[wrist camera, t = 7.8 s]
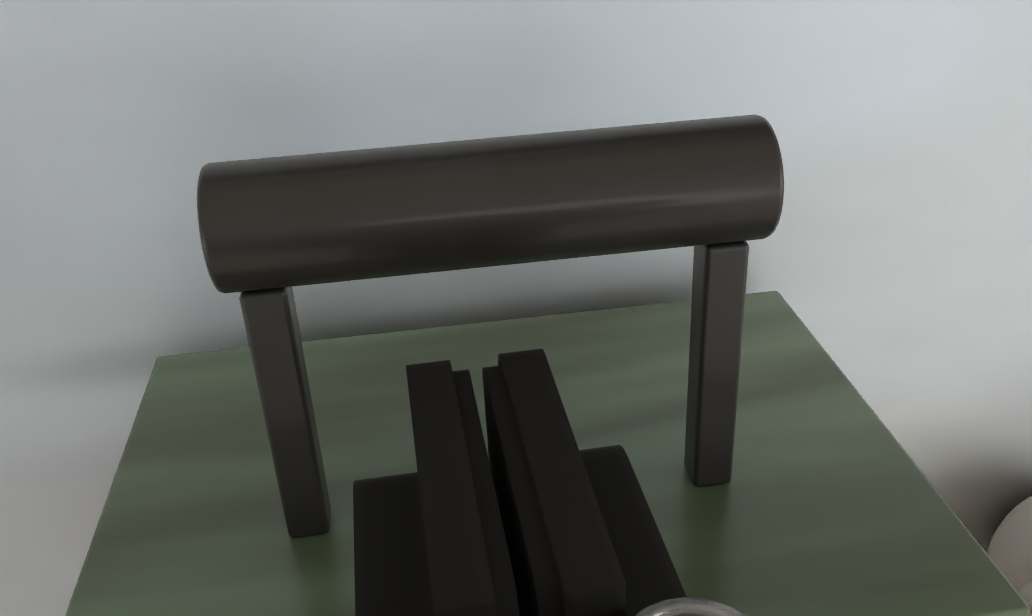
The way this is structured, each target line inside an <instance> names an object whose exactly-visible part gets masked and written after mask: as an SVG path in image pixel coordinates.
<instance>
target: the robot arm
mask: <svg viewBox="0 0 1032 616" xmlns="http://www.w3.org/2000/svg"><path fill="white" fill-rule="evenodd" d="M406 373H407V382H408V391H409V400H410V409H411V418H412V427H413V436H414V445H415V454H416V463H417V472H414V473H407V474H399V475H392V476H384V477H377V478H370V479H362V480H355V481H354V482H353V522H354V576H355V616H745V615H743V614H742V613H740V612H739V611H737V610H735V609H734V608H732V607H730V606H727V605H724V604H721V603H718V602H715V601H712V600H709V599H700V598H689V597H687V596H686V594H685V591H684V589H683V587H682V584H681V582H680V579H679V577H678V575H677V572H676V570H675V567H674V565H673V563H672V560H671V558H670V556H669V553H668V551H667V548H666V546H665V544H664V541H663V539H662V536H661V534H660V532H659V529H658V527H657V525H656V522H655V520H654V517H653V515H652V513H651V510H650V508H649V506H648V503H647V501H646V498H645V496H644V494H643V491H642V489H641V486H640V484H639V482H638V479H637V477H636V475H635V472H634V470H633V467H632V465H631V463H630V460H629V458H628V456H627V454H626V452H625V450H624V448H623V447H622V446H621V445H613V446H606V447H599V448H591V449H584V450H579V448H578V445H577V443H576V440H575V437H574V434H573V431H572V428H571V426H570V423H569V420H568V417H567V414H566V411H565V409H564V406H563V403H562V400H561V397H560V394H559V391H558V389H557V386H556V383H555V380H554V377H553V374H552V372H551V369H550V366H549V363H548V360H547V357H546V355H545V352H544V350H543V349H542V348H541V349H533V350H524V351H516V352H508V353H500V354H498V366H491V367H483V369H482V375H483V389H484V403H485V416H486V429H487V443H488V454H487V450H486V445H485V441H484V436H483V431H482V427H481V422H480V417H479V413H478V408H477V404H476V399H475V394H474V390H473V385H472V380H471V376H470V372H469V369H466V370H458V371H452V367H451V362H450V360H443V361H435V362H427V363H418V364H410V365H406ZM488 456H489V459H488Z"/></svg>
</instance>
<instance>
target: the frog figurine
mask: <svg viewBox="0 0 1032 616" xmlns="http://www.w3.org/2000/svg"><path fill="white" fill-rule="evenodd" d="M987 554H988V556H989V557H990V558H991V559H992V561H993V562H994V563H995V564H996V566H997V567H998V568H999V569H1000V571H1001V572H1002V573H1003V574H1004V576H1005V577H1006V578H1007V579H1008V581H1009V582H1010V583H1011V584H1012V586H1013V587H1014V588H1015V589H1016V591H1017V592H1018V593H1019V595H1020V596H1021V597H1022V598H1023V600H1024V601H1025V602H1026V603H1027V605H1028V606H1029V608H1030V614H1029V616H1032V496H1030V497H1029V498H1027V499H1025V500H1024V501H1022V502H1021V503H1020V504H1018V505H1017V506H1016V507H1015V508H1014V509H1013V510H1012V511H1010V512H1009V513H1008V514H1007V515H1006V517H1005V518H1004V520H1003V521H1002V522H1001V524H1000V525H999V526H998V528H997V529H996V531H995V533H994V535H993V537H992V539H991V542H990V545H989V547H988V551H987Z"/></svg>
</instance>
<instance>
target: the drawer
mask: <svg viewBox="0 0 1032 616" xmlns="http://www.w3.org/2000/svg"><path fill="white" fill-rule="evenodd" d="M783 194H784V175H783V165H782V158H781V153H780V148H779V144H778V141H777V138H776V135H775V133H774V131H773V129H772V127H771V125H770V124H769V122H768V121H767V120H766V119H765V118H763V117H761V116H758V115H745V116H734V117H723V118H712V119H700V120H689V121H678V122H667V123H655V124H644V125H633V126H621V127H610V128H599V129H588V130H576V131H565V132H554V133H543V134H531V135H520V136H509V137H498V138H486V139H475V140H464V141H452V142H441V143H430V144H419V145H407V146H396V147H385V148H374V149H362V150H351V151H340V152H329V153H317V154H306V155H295V156H283V157H272V158H261V159H250V160H238V161H227V162H216V163H208V164H206V165H204V166H203V167H202V169H201V171H200V175H199V180H198V188H197V210H198V223H199V231H200V238H201V244H202V249H203V254H204V258H205V262H206V266H207V269H208V272H209V275H210V277H211V280H212V282H213V284H214V286H215V287H216V289H217V290H218V291H220V292H223V293H233V292H241V294H240V298H239V299H240V304H241V309H242V314H243V318H244V323H245V328H246V333H247V338H248V343H249V347H246V348H237V349H227V350H218V351H208V352H199V353H190V354H180V355H171V356H162V357H158V358H157V359H156V362H155V365H154V367H153V370H152V373H151V376H150V379H149V381H148V384H147V387H146V390H145V393H144V396H143V398H142V401H141V404H140V407H139V410H138V412H137V415H136V418H135V421H134V424H133V426H132V429H131V432H130V435H129V438H128V441H127V443H126V446H125V449H124V452H123V455H122V457H121V460H120V463H119V466H118V469H117V471H116V474H115V477H114V480H113V483H112V486H111V488H110V491H109V494H108V497H107V500H106V502H105V505H104V508H103V511H102V514H101V516H100V519H99V522H98V525H97V528H96V531H95V533H94V536H93V539H92V542H91V545H90V547H89V550H88V553H87V556H86V559H85V561H84V564H83V567H82V570H81V573H80V575H79V578H78V581H77V584H76V587H75V590H74V592H73V595H72V598H71V601H70V604H69V606H68V609H67V612H66V615H65V616H355V576H354V522H353V482H354V481H355V480H362V479H370V478H377V477H384V476H392V475H399V474H407V473H414V472H417V463H416V454H415V445H414V436H413V427H412V418H411V409H410V400H409V391H408V382H407V373H406V365H410V364H418V363H427V362H435V361H443V360H450V362H451V367H452V371H458V370H466V369H469V372H470V376H471V380H472V385H473V390H474V394H475V399H476V404H477V408H478V413H479V417H480V422H481V427H482V431H483V436H484V441H485V445H486V450H487V454H488V443H487V429H486V416H485V403H484V389H483V375H482V369H483V367H491V366H498V354H500V353H508V352H516V351H524V350H533V349H541V348H542V349H543V350H544V352H545V355H546V357H547V360H548V363H549V366H550V369H551V372H552V374H553V377H554V380H555V383H556V386H557V389H558V391H559V394H560V397H561V400H562V403H563V406H564V409H565V411H566V414H567V417H568V420H569V423H570V426H571V428H572V431H573V434H574V437H575V440H576V443H577V445H578V448H579V450H584V449H591V448H599V447H606V446H613V445H621V446H622V447H623V448H624V450H625V452H626V454H627V456H628V458H629V460H630V463H631V465H632V467H633V470H634V472H635V475H636V477H637V479H638V482H639V484H640V486H641V489H642V491H643V494H644V496H645V498H646V501H647V503H648V506H649V508H650V510H651V513H652V515H653V517H654V520H655V522H656V525H657V527H658V529H659V532H660V534H661V536H662V539H663V541H664V544H665V546H666V548H667V551H668V553H669V556H670V558H671V560H672V563H673V565H674V567H675V570H676V572H677V575H678V577H679V579H680V582H681V584H682V587H683V589H684V591H685V594H686V596H687V597H689V598H700V599H709V600H712V601H715V602H718V603H721V604H724V605H727V606H730V607H732V608H734V609H735V610H737V611H739V612H740V613H742V614H743V615H745V616H1029V614H1030V608H1029V606H1028V605H1027V603H1026V602H1025V601H1024V600H1023V598H1022V597H1021V596H1020V595H1019V593H1018V592H1017V591H1016V589H1015V588H1014V587H1013V586H1012V584H1011V583H1010V582H1009V581H1008V579H1007V578H1006V577H1005V576H1004V574H1003V573H1002V572H1001V571H1000V569H999V568H998V567H997V566H996V564H995V563H994V562H993V561H992V559H991V558H990V557H989V556H988V554H987V553H986V552H985V551H984V549H983V548H982V547H981V546H980V544H979V543H978V542H977V541H976V539H975V538H974V537H973V536H972V534H971V533H970V532H969V531H968V529H967V528H966V527H965V526H964V524H963V523H962V522H961V520H960V519H959V518H958V517H957V515H956V514H955V513H954V512H953V510H952V509H951V508H950V507H949V505H948V504H947V503H946V502H945V500H944V499H943V498H942V497H941V495H940V494H939V493H938V492H937V490H936V489H935V488H934V487H933V485H932V484H931V483H930V482H929V480H928V479H927V478H926V477H925V475H924V474H923V473H922V472H921V470H920V469H919V468H918V467H917V465H916V464H915V463H914V462H913V460H912V459H911V458H910V456H909V455H908V454H907V453H906V451H905V450H904V449H903V448H902V446H901V445H900V444H899V443H898V441H897V440H896V439H895V438H894V436H893V435H892V434H891V433H890V431H889V430H888V429H887V428H886V426H885V425H884V424H883V423H882V421H881V420H880V419H879V418H878V416H877V415H876V414H875V413H874V411H873V410H872V409H871V408H870V406H869V405H868V404H867V403H866V401H865V400H864V399H863V398H862V396H861V395H860V394H859V392H858V391H857V390H856V389H855V387H854V386H853V385H852V384H851V382H850V381H849V380H848V379H847V377H846V376H845V375H844V374H843V372H842V371H841V370H840V369H839V367H838V366H837V365H836V364H835V362H834V361H833V360H832V359H831V357H830V356H829V355H828V354H827V352H826V351H825V350H824V349H823V347H822V346H821V345H820V344H819V342H818V341H817V340H816V339H815V337H814V336H813V335H812V334H811V332H810V331H809V330H808V328H807V327H806V326H805V325H804V323H803V322H802V321H801V320H800V318H799V317H798V316H797V315H796V313H795V312H794V311H793V310H792V308H791V307H790V306H789V305H788V303H787V302H786V301H785V300H784V298H783V297H782V296H781V295H780V293H779V292H777V291H771V292H761V293H752V294H745V292H746V279H747V266H748V253H749V245H748V243H747V242H746V240H756V239H764V238H766V237H768V236H770V235H771V234H772V233H773V232H774V230H775V229H776V227H777V225H778V222H779V219H780V216H781V211H782V205H783ZM687 246H694V262H693V283H692V300H686V301H677V302H667V303H658V304H649V305H639V306H630V307H621V308H611V309H602V310H593V311H583V312H574V313H564V314H555V315H546V316H536V317H527V318H518V319H508V320H499V321H489V322H480V323H471V324H461V325H452V326H443V327H433V328H424V329H415V330H405V331H396V332H386V333H377V334H368V335H358V336H349V337H340V338H330V339H321V340H311V341H301V336H300V330H299V324H298V319H297V313H296V307H295V302H294V296H293V290H292V286H302V285H312V284H321V283H331V282H341V281H351V280H361V279H371V278H381V277H391V276H400V275H410V274H420V273H430V272H440V271H450V270H460V269H470V268H479V267H489V266H499V265H509V264H519V263H529V262H539V261H548V260H558V259H568V258H578V257H588V256H598V255H608V254H618V253H627V252H637V251H647V250H657V249H667V248H677V247H687ZM488 459H489V456H488Z"/></svg>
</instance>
